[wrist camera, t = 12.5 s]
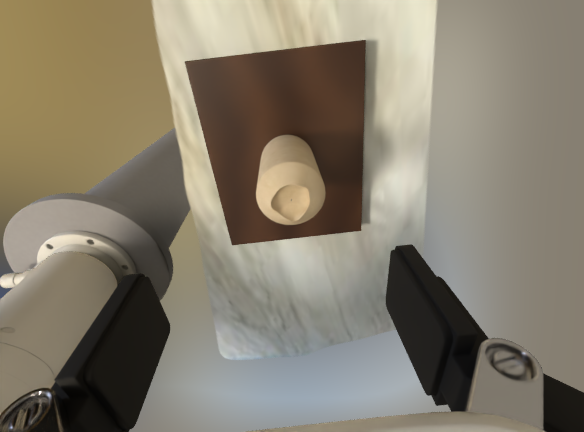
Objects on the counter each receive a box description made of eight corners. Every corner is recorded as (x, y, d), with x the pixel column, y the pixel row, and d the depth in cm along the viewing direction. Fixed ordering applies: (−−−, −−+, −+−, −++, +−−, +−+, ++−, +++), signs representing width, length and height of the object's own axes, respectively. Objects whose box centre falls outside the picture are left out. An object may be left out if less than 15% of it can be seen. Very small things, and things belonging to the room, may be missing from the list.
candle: (313, 182, 31) (328, 232, 23) (263, 186, 31) (258, 237, 22) (313, 132, 28) (329, 166, 20) (258, 135, 28) (250, 171, 20)
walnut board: (233, 237, 36) (231, 245, 35) (189, 61, 26) (184, 61, 25) (357, 223, 36) (361, 230, 35) (360, 40, 26) (365, 39, 25)
